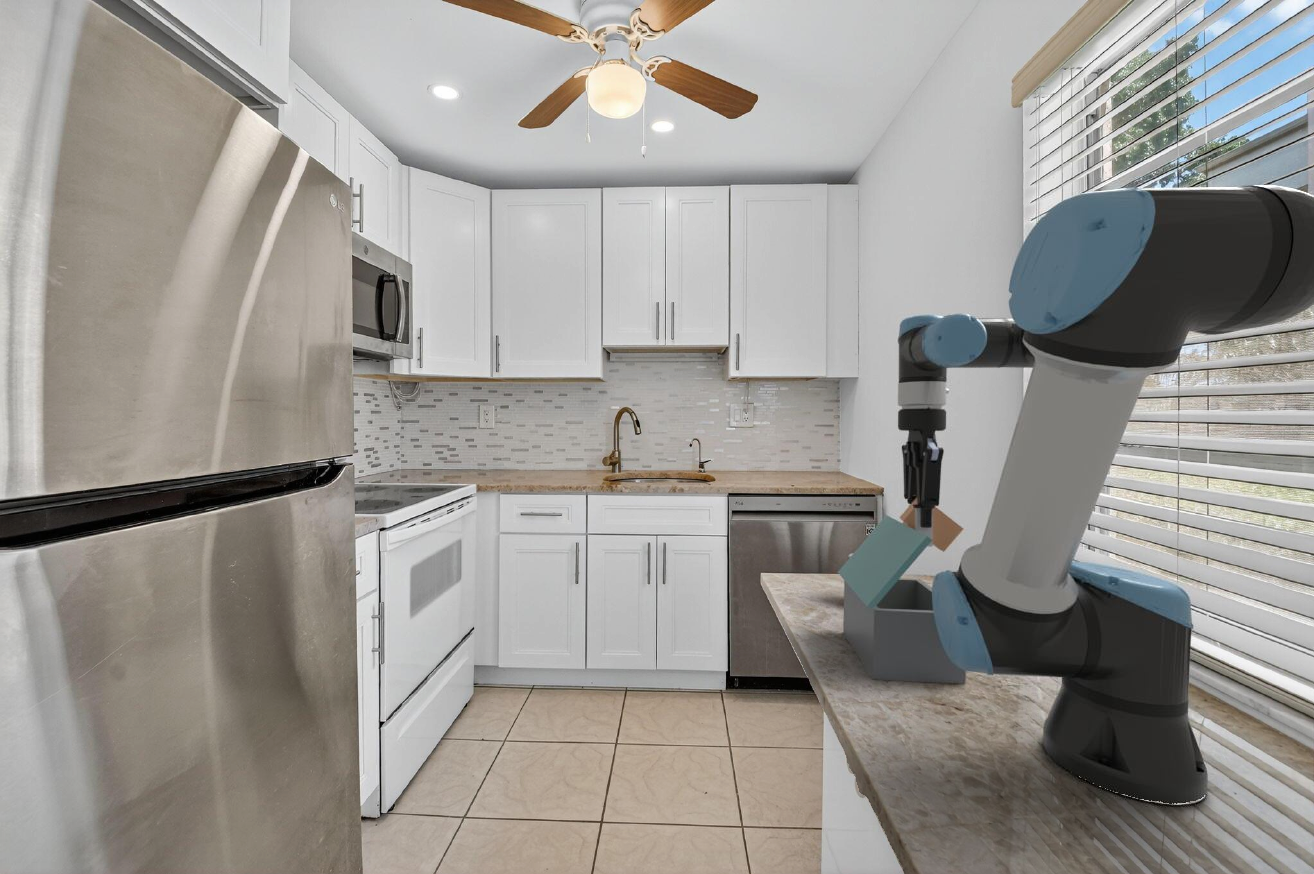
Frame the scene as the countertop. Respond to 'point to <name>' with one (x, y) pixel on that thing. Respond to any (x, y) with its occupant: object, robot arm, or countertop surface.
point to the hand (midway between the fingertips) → (920, 543)
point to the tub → (899, 635)
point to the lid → (893, 553)
